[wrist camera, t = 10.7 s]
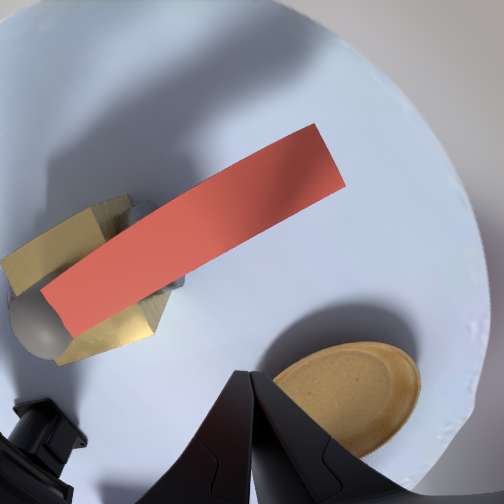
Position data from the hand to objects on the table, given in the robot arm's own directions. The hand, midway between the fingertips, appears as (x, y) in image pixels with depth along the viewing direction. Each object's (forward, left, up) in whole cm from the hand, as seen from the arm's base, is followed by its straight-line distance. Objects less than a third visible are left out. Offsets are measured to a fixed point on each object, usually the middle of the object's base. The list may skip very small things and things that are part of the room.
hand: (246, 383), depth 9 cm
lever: (-2, +4, -6) cm, 8 cm away
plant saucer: (+3, -15, -13) cm, 20 cm away
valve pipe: (-8, +3, -13) cm, 15 cm away
